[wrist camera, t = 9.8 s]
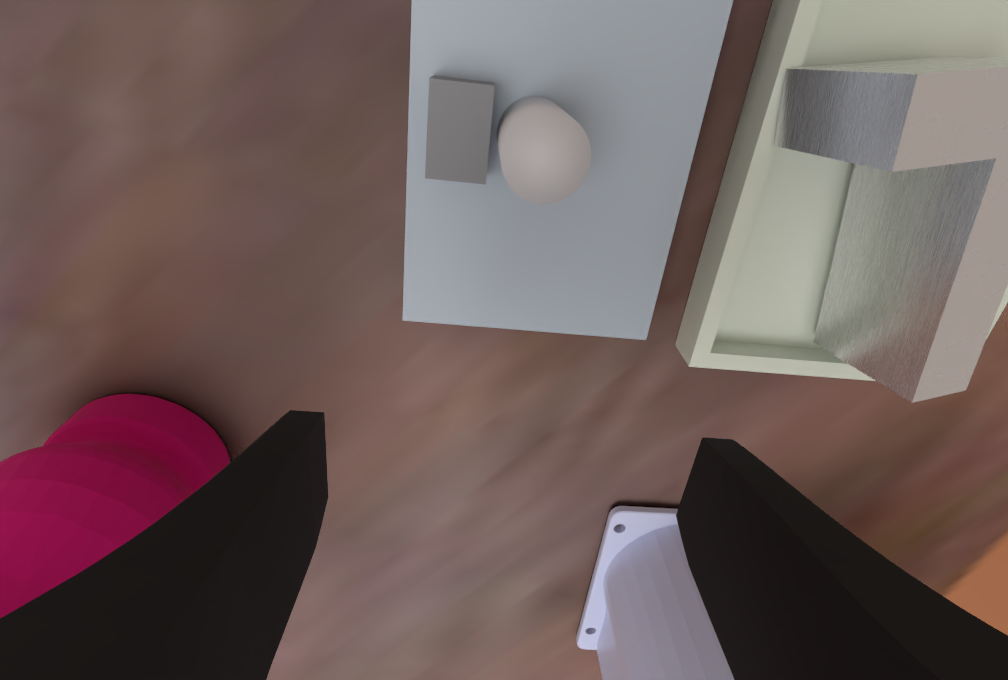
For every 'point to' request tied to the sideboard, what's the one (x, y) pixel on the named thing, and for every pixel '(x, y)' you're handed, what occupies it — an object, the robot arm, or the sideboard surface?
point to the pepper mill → (97, 488)
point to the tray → (803, 183)
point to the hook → (910, 211)
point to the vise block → (551, 157)
